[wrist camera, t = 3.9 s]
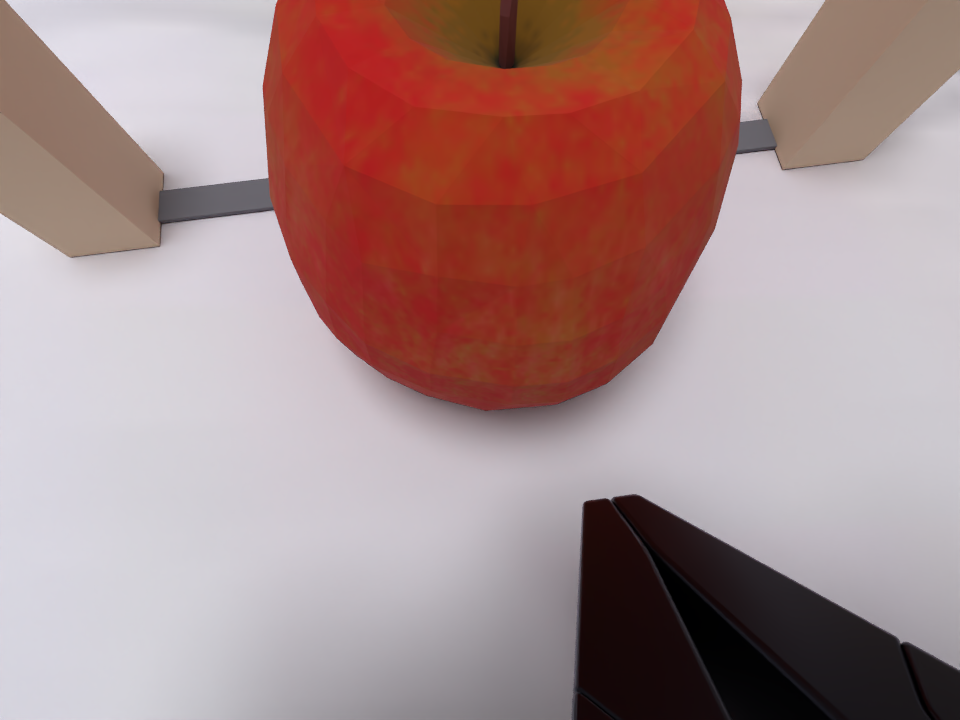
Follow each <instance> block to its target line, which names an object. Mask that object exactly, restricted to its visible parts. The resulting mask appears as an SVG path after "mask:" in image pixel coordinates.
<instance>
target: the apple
mask: <svg viewBox="0 0 960 720" xmlns="http://www.w3.org/2000/svg"><path fill="white" fill-rule="evenodd" d="M741 90H742V79H741V73H740V67H739V61H738V56H737V50H736V44H735V39H734V33H733V27H732V22H731V17H730V14H729V12H728V9H727V7H726V4H725V1H724V0H278V1H277V3H276V7H275V13H274V20H273V26H272V32H271V38H270V44H269V50H268V56H267V63H266V69H265V75H264V81H263V99H264V114H265V129H266V145H267V160H268V175H269V191H270V199H271V202H272V205H273V208H274V211H275V214H276V216H277V219H278V222H279V225H280V228H281V231H282V234H283V237H284V240H285V243H286V246H287V249H288V252H289V255H290V258H291V260H292V263H293V265H294V267H295V269H296V271H297V273H298V276H299V278H300V280H301V282H302V284H303V286H304V288H305V290H306V292H307V294H308V296H309V297H310V299H311V301H312V303H313V305H314V307H315V309H316V311H317V313H318V315H319V317H320V318H321V319H322V321H323V322H324V323H325V324H326V325H327V327H328V328H329V329H330V330H331V332H332V333H333V334H334V335H335V337H336V338H337V339H338V340H339V341H341V342H342V343H343V344H344V345H345V346H346V347H347V348H349V349H350V350H351V351H352V352H353V353H354V354H355V355H357V356H358V357H359V358H361V359H362V360H363V361H365V362H366V363H368V364H369V365H370V366H372V367H373V368H375V369H376V370H377V371H379V372H380V373H381V374H383V375H384V376H386V377H387V378H389V379H391V380H394V381H396V382H398V383H400V384H402V385H405V386H407V387H409V388H411V389H413V390H416V391H418V392H420V393H422V394H424V395H427V396H430V397H434V398H438V399H442V400H446V401H450V402H454V403H458V404H462V405H466V406H469V407H473V408H477V409H481V410H485V411H488V410H500V409H511V408H523V407H535V406H546V405H556V404H559V403H561V402H563V401H566V400H568V399H571V398H573V397H576V396H578V395H581V394H583V393H586V392H588V391H591V390H593V389H596V388H598V387H600V386H602V385H604V384H607V383H608V382H609V381H610V380H612V379H613V378H614V377H615V376H616V375H617V374H618V373H620V372H621V371H622V370H623V369H624V368H625V367H626V366H628V365H629V364H630V363H631V362H632V361H633V360H635V359H636V358H637V357H638V356H639V355H640V354H641V353H643V352H644V351H645V350H646V349H647V348H648V347H649V346H651V345H652V344H653V342H654V340H655V338H656V337H657V335H658V333H659V331H660V329H661V327H662V325H663V324H664V322H665V320H666V318H667V316H668V314H669V313H670V311H671V309H672V307H673V305H674V303H675V301H676V300H677V298H678V296H679V294H680V292H681V290H682V289H683V287H684V285H685V283H686V281H687V279H688V277H689V276H690V274H691V272H692V270H693V268H694V266H695V265H696V263H697V261H698V259H699V257H700V255H701V254H702V252H703V250H704V248H705V246H706V244H707V242H708V241H709V239H710V237H711V235H712V233H713V231H714V230H715V226H716V223H717V219H718V216H719V212H720V209H721V205H722V201H723V198H724V194H725V191H726V187H727V183H728V180H729V176H730V173H731V169H732V166H733V162H734V158H735V155H736V151H737V148H738V143H739V129H740V113H741Z"/></svg>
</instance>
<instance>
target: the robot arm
mask: <svg viewBox="0 0 960 720" xmlns="http://www.w3.org/2000/svg"><path fill="white" fill-rule="evenodd" d="M573 693H574V695H573V699H572V719H571V720H960V670H958V669H956V668H955V667H953V666H951V665H949V664H947V663H945V662H943V661H942V660H940V659H938V658H936V657H934V656H933V655H931V654H929V653H927V652H925V651H923V650H922V649H920V648H918V647H916V646H914V645H912V644H911V643H909V642H902V643H901V644H900V641H899V639H898V638H897V637H896V636H894V635H892V634H890V633H888V632H887V631H885V630H883V629H881V628H879V627H877V626H876V625H874V624H872V623H870V622H868V621H867V620H865V619H863V618H861V617H859V616H858V615H856V614H854V613H852V612H850V611H848V610H847V609H845V608H843V607H841V606H839V605H838V604H836V603H834V602H832V601H830V600H828V599H827V598H825V597H823V596H821V595H819V594H818V593H816V592H814V591H812V590H810V589H809V588H807V587H805V586H803V585H801V584H799V583H798V582H796V581H794V580H792V579H790V578H789V577H787V576H785V575H783V574H781V573H779V572H778V571H776V570H774V569H772V568H770V567H769V566H767V565H765V564H763V563H761V562H759V561H758V560H756V559H754V558H752V557H750V556H749V555H747V554H745V553H743V552H741V551H740V550H738V549H736V548H734V547H732V546H730V545H729V544H727V543H725V542H723V541H721V540H720V539H718V538H716V537H714V536H712V535H710V534H709V533H707V532H705V531H703V530H701V529H700V528H698V527H696V526H694V525H692V524H691V523H689V522H687V521H685V520H683V519H681V518H680V517H678V516H676V515H674V514H672V513H671V512H669V511H667V510H665V509H663V508H661V507H660V506H658V505H656V504H654V503H652V502H651V501H649V500H647V499H645V498H643V497H642V496H639V495H636V494H632V495H625V496H618V497H613V498H612V499H611V500H609V499H606V498H604V499H597V500H590V501H586V502H584V503H583V507H582V527H581V547H580V567H579V587H578V608H577V628H576V648H575V668H574V688H573Z"/></svg>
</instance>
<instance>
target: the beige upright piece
mask: <svg viewBox="0 0 960 720" xmlns="http://www.w3.org/2000/svg"><path fill="white" fill-rule="evenodd" d="M959 69H960V0H826V1H825V2H824V4H823V5H822V7H821V8H820V10H819V11H818V13H817V14H816V16H815V17H814V19H813V20H812V22H811V23H810V25H809V26H808V28H807V29H806V31H805V32H804V34H803V35H802V37H801V38H800V40H799V41H798V43H797V44H796V46H795V47H794V49H793V50H792V52H791V53H790V55H789V56H788V58H787V59H786V61H785V62H784V64H783V65H782V67H781V68H780V70H779V71H778V73H777V74H776V76H775V77H774V79H773V80H772V82H771V83H770V85H769V86H768V88H767V89H766V91H765V92H764V94H763V95H762V97H761V98H760V100H759V101H758V105H759V108H760V111H761V113H762V116H763V120H754V121H746V122H740V129H739V143H738V148H737V151H736V153H745V152H753V151H761V150H769V149H775V150H776V153H777V156H778V158H779V161H780V164H781V166H782V169H791V168H799V167H807V166H815V165H823V164H831V163H840V162H848V161H856V160H863V159H864V158H865V157H866V156H868V155H869V154H870V153H871V152H872V151H873V150H874V149H875V148H876V147H877V146H878V145H879V144H880V143H881V142H882V141H883V140H885V139H886V138H887V137H888V136H889V135H890V134H891V133H892V132H893V131H894V130H895V129H896V128H897V127H898V126H899V125H901V124H902V123H903V122H904V121H905V120H906V119H907V118H908V117H909V116H910V115H911V114H912V113H913V112H914V111H915V110H916V109H918V108H919V107H920V106H921V105H922V104H923V103H924V102H925V101H926V100H927V99H928V98H929V97H930V96H931V95H932V94H934V93H935V92H936V91H937V90H938V89H939V88H940V87H941V86H942V85H943V84H944V83H945V82H946V81H947V80H948V79H949V78H951V77H952V76H953V75H954V74H955V73H956V72H957V71H958V70H959ZM162 190H163V172H162V171H161V169H160V168H159V167H158V166H157V165H156V164H155V163H154V162H153V161H152V160H151V159H150V158H149V156H148V155H147V154H146V153H145V152H144V151H143V150H142V149H141V148H140V147H139V146H138V144H137V143H136V142H135V141H134V140H133V139H132V138H131V137H130V136H129V135H128V134H127V133H126V131H125V130H124V129H123V128H122V127H121V126H120V125H119V124H118V123H117V122H116V121H115V119H114V118H113V117H112V116H111V115H110V114H109V113H108V112H107V111H106V110H105V109H104V108H103V106H102V105H101V104H100V103H99V102H98V101H97V100H96V99H95V98H94V97H93V96H92V94H91V93H90V92H89V91H88V90H87V89H86V88H85V87H84V86H83V85H82V84H81V83H80V81H79V80H78V79H77V78H76V77H75V76H74V75H73V74H72V73H71V72H70V71H69V69H68V68H67V67H66V66H65V65H64V64H63V63H62V62H61V61H60V60H59V59H58V58H57V56H56V55H55V54H54V53H53V52H52V51H51V50H50V49H49V48H48V47H47V46H46V44H45V43H44V42H43V41H42V40H41V39H40V38H39V37H38V36H37V35H36V34H35V33H34V31H33V30H32V29H31V28H30V27H29V26H28V25H27V24H26V23H25V22H24V21H23V19H22V18H21V17H20V16H19V15H18V14H17V13H16V12H15V11H14V10H13V9H12V8H11V6H10V5H9V4H8V3H7V2H6V1H5V0H0V213H1V214H2V215H4V216H5V217H7V218H9V219H10V220H12V221H13V222H15V223H17V224H18V225H20V226H21V227H23V228H24V229H26V230H28V231H29V232H31V233H32V234H34V235H35V236H37V237H39V238H40V239H42V240H43V241H45V242H46V243H48V244H50V245H51V246H53V247H54V248H56V249H58V250H59V251H61V252H62V253H64V254H65V255H67V256H69V257H75V256H83V255H92V254H100V253H108V252H116V251H124V250H132V249H140V248H148V247H157V246H159V245H160V227H161V223H167V222H176V221H184V220H192V219H200V218H209V217H217V216H225V215H233V214H242V213H250V212H258V211H266V210H274V208H273V205H272V202H271V199H270V191H269V178H266V179H258V180H249V181H241V182H232V183H224V184H216V185H207V186H199V187H190V188H182V189H174V190H165V191H162Z"/></svg>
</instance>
